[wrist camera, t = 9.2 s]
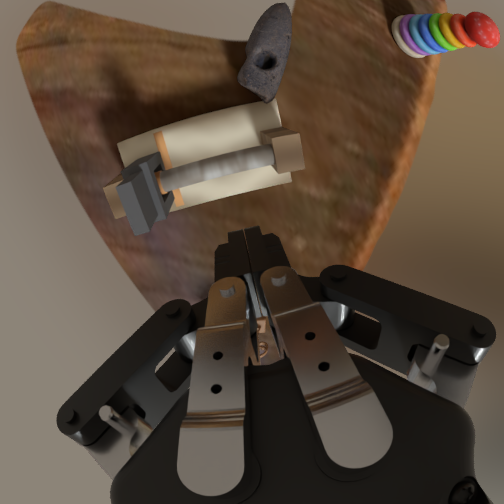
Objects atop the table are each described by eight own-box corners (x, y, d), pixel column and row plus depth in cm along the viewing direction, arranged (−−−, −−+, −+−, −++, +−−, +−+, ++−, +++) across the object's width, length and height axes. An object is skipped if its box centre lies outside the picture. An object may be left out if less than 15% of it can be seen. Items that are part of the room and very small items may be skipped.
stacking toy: (409, 65, 30) (499, 68, 13) (380, 26, 26) (466, 6, 10) (432, 47, 27) (515, 48, 11) (405, 10, 24) (486, -6, 8)
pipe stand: (119, 142, 32) (91, 155, 24) (274, 98, 32) (292, 96, 24) (145, 216, 38) (128, 248, 30) (289, 179, 38) (309, 202, 30)
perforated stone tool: (259, 5, 24) (268, -14, 18) (296, 16, 26) (312, 0, 20) (229, 96, 31) (231, 93, 25) (267, 106, 33) (278, 106, 27)
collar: (137, 158, 30) (106, 182, 21) (159, 151, 30) (135, 171, 21) (153, 204, 33) (131, 244, 24) (174, 198, 33) (159, 236, 24)
